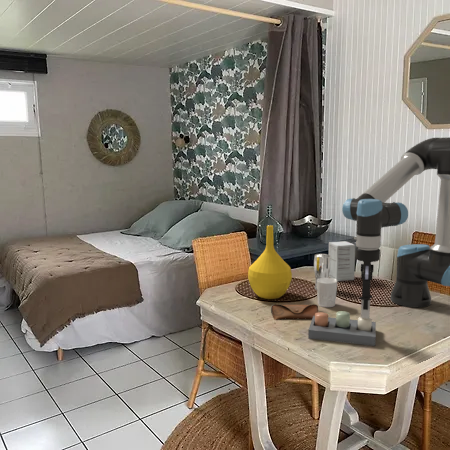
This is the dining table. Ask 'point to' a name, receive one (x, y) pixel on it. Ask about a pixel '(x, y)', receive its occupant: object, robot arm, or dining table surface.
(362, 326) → the button cream
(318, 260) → the beer glass
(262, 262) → the vase
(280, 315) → the sunglasses case
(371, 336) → the panel
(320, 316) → the button terracotta
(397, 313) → the dining table surface
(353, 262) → the supplement box
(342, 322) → the button sage
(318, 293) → the white cup
